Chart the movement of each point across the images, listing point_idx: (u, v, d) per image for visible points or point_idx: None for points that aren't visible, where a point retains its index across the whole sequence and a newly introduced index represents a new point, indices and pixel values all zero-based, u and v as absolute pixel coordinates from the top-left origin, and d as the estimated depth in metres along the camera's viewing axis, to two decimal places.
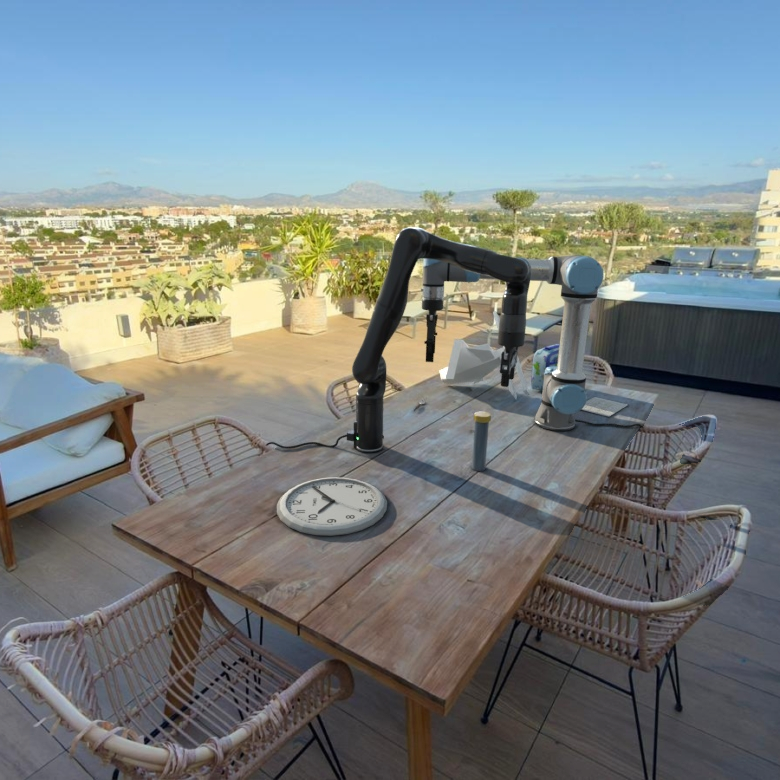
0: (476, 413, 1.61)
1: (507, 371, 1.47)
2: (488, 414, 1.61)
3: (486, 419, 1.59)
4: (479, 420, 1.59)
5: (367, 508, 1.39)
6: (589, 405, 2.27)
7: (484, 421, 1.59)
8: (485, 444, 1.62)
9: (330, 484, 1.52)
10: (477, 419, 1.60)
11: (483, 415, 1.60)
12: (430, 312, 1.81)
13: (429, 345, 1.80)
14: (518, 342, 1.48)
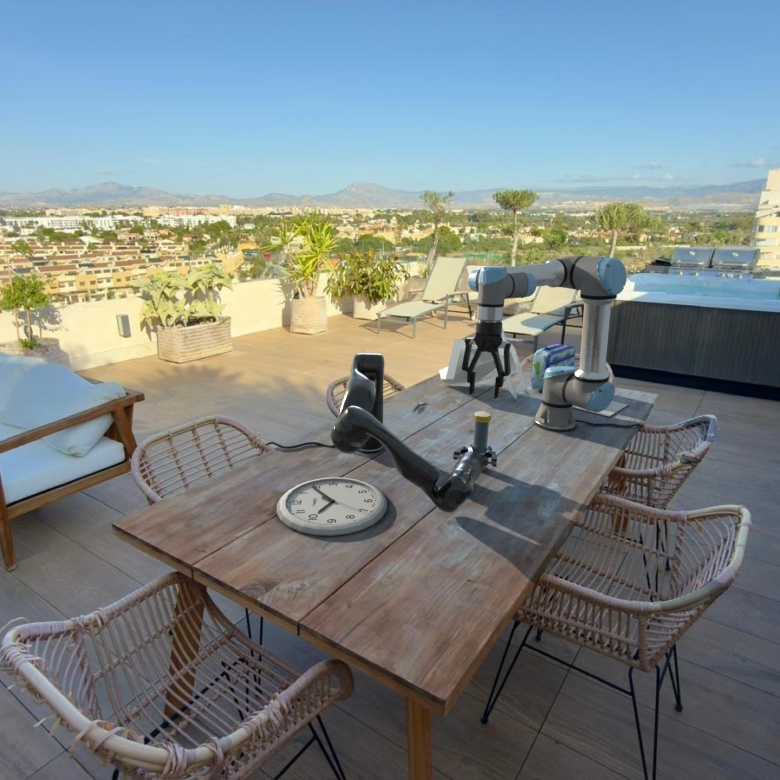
0: (476, 413, 1.61)
1: None
2: (488, 414, 1.61)
3: (486, 419, 1.59)
4: (479, 420, 1.59)
5: (367, 508, 1.39)
6: None
7: (484, 421, 1.59)
8: (485, 444, 1.62)
9: (330, 484, 1.52)
10: (477, 419, 1.60)
11: (483, 415, 1.60)
12: None
13: None
14: (480, 457, 1.53)
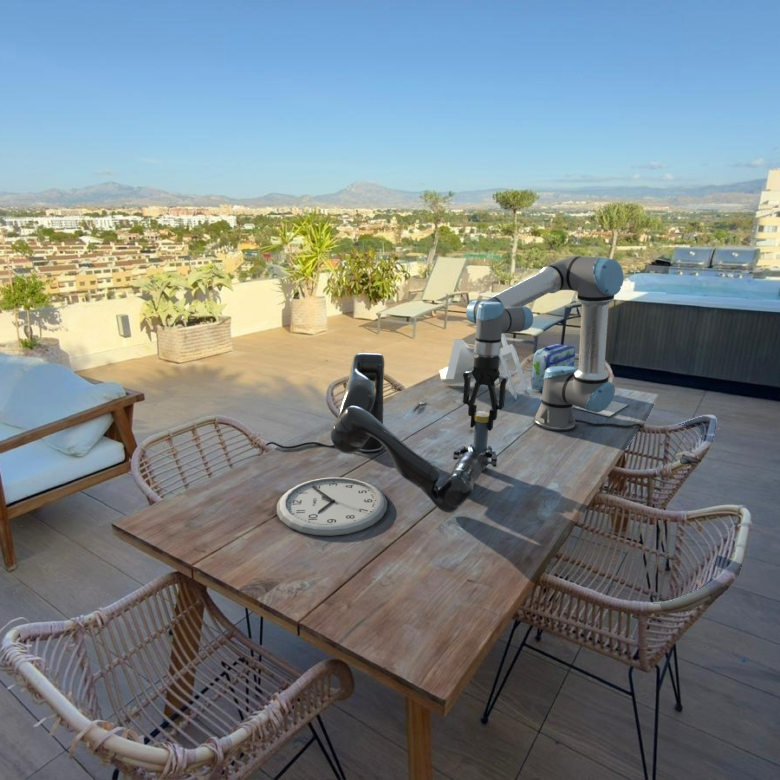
0: (476, 413, 1.61)
1: None
2: (488, 414, 1.61)
3: (486, 419, 1.59)
4: (479, 420, 1.59)
5: (367, 508, 1.39)
6: None
7: (484, 421, 1.59)
8: (485, 444, 1.62)
9: (330, 484, 1.52)
10: (477, 419, 1.60)
11: (483, 415, 1.60)
12: None
13: None
14: (480, 457, 1.53)
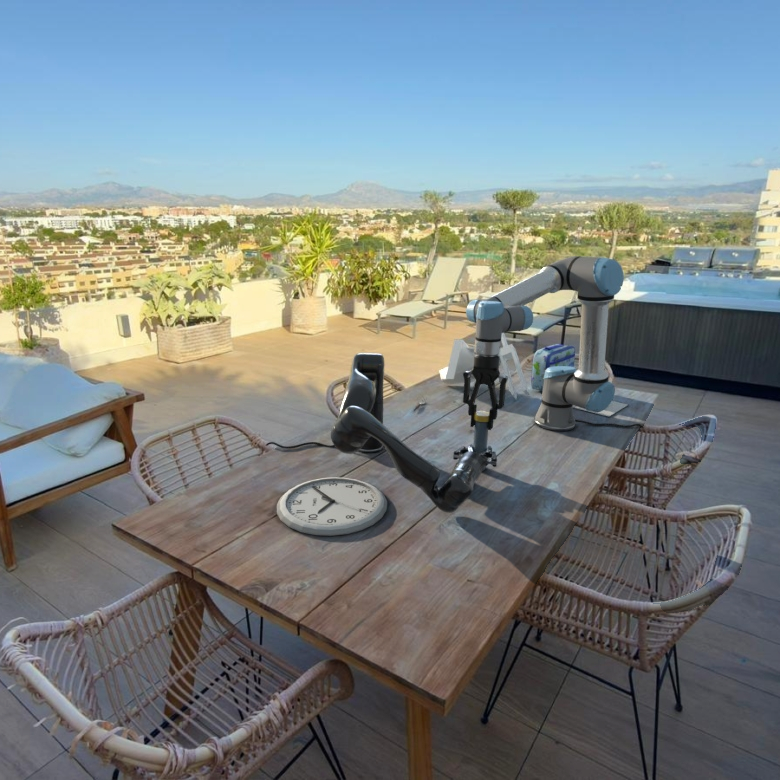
0: (485, 415, 1.59)
1: None
2: (479, 411, 1.63)
3: None
4: None
5: (367, 508, 1.39)
6: None
7: None
8: (485, 444, 1.62)
9: (330, 484, 1.52)
10: None
11: (485, 412, 1.62)
12: None
13: None
14: (480, 457, 1.53)
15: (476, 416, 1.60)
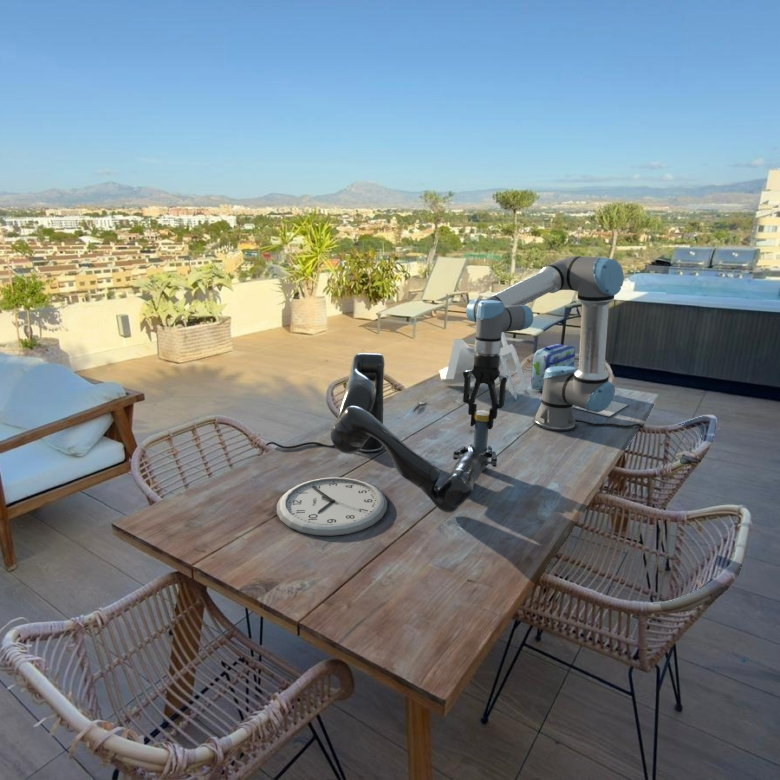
0: (485, 411, 1.62)
1: None
2: (479, 414, 1.60)
3: (474, 415, 1.61)
4: None
5: (367, 508, 1.39)
6: None
7: None
8: (485, 444, 1.62)
9: (330, 484, 1.52)
10: None
11: (478, 412, 1.61)
12: None
13: None
14: (480, 457, 1.53)
15: None
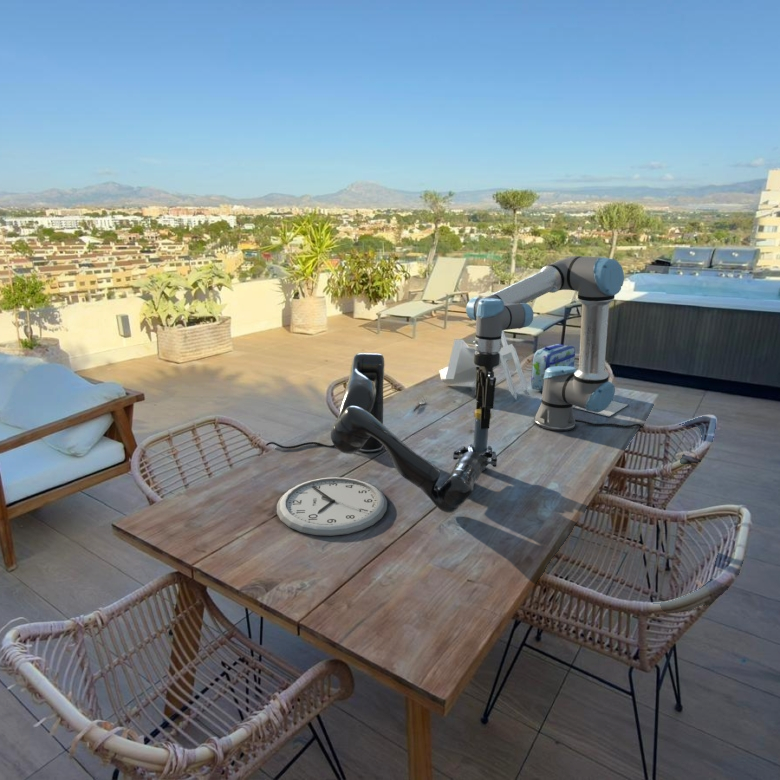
0: (476, 410, 1.61)
1: None
2: None
3: None
4: (480, 417, 1.59)
5: (367, 508, 1.39)
6: None
7: None
8: (485, 444, 1.62)
9: (330, 484, 1.52)
10: (478, 416, 1.59)
11: None
12: (488, 369, 1.53)
13: (486, 410, 1.56)
14: (480, 457, 1.53)
15: None
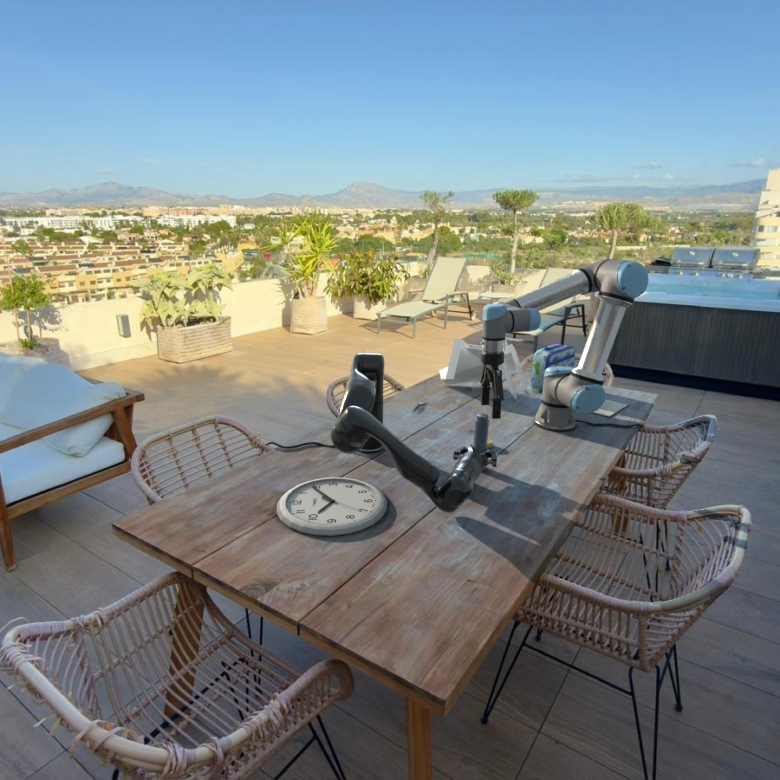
0: None
1: None
2: (490, 441, 1.83)
3: (489, 445, 1.81)
4: None
5: (367, 508, 1.39)
6: None
7: None
8: (485, 444, 1.62)
9: (330, 484, 1.52)
10: None
11: None
12: (494, 367, 1.71)
13: (497, 402, 1.70)
14: (480, 457, 1.53)
15: None
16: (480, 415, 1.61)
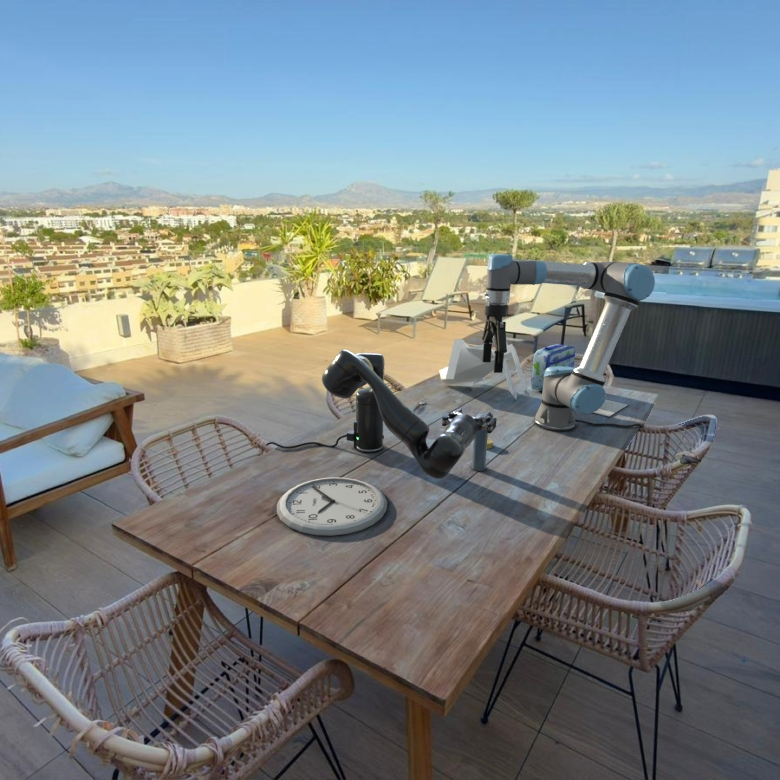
0: None
1: None
2: (490, 441, 1.83)
3: (489, 445, 1.81)
4: None
5: (367, 508, 1.39)
6: None
7: (487, 447, 1.81)
8: (485, 444, 1.62)
9: (330, 484, 1.52)
10: None
11: None
12: (497, 319, 1.67)
13: (500, 355, 1.65)
14: (474, 420, 1.37)
15: None
16: (480, 415, 1.61)
